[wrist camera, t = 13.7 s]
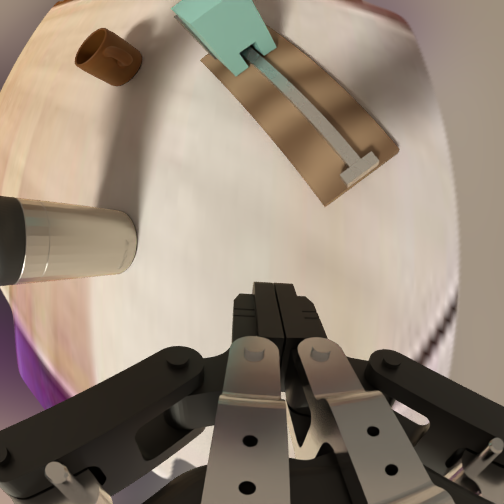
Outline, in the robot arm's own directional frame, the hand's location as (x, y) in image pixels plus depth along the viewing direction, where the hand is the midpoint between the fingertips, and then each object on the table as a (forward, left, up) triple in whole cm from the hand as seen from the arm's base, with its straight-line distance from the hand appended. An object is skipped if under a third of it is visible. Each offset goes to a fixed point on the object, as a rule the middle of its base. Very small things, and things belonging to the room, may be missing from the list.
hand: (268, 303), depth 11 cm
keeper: (-18, +21, -18) cm, 33 cm away
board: (-11, +17, -19) cm, 28 cm away
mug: (-39, +17, -19) cm, 47 cm away
